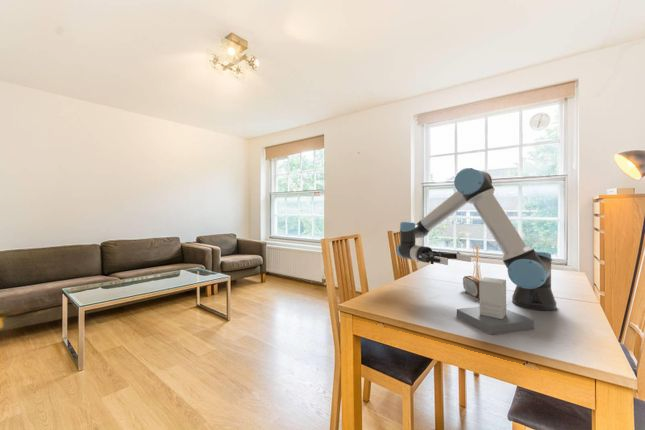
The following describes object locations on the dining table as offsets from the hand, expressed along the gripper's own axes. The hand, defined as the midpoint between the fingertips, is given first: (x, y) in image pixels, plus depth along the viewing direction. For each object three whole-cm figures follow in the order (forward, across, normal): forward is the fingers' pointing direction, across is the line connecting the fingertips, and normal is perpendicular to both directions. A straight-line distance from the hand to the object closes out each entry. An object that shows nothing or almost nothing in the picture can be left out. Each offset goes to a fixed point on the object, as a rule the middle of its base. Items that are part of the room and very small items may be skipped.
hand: (459, 260), depth 117 cm
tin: (-9, -20, -20) cm, 29 cm away
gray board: (+16, +3, -20) cm, 26 cm away
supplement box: (+16, +3, -17) cm, 24 cm away
